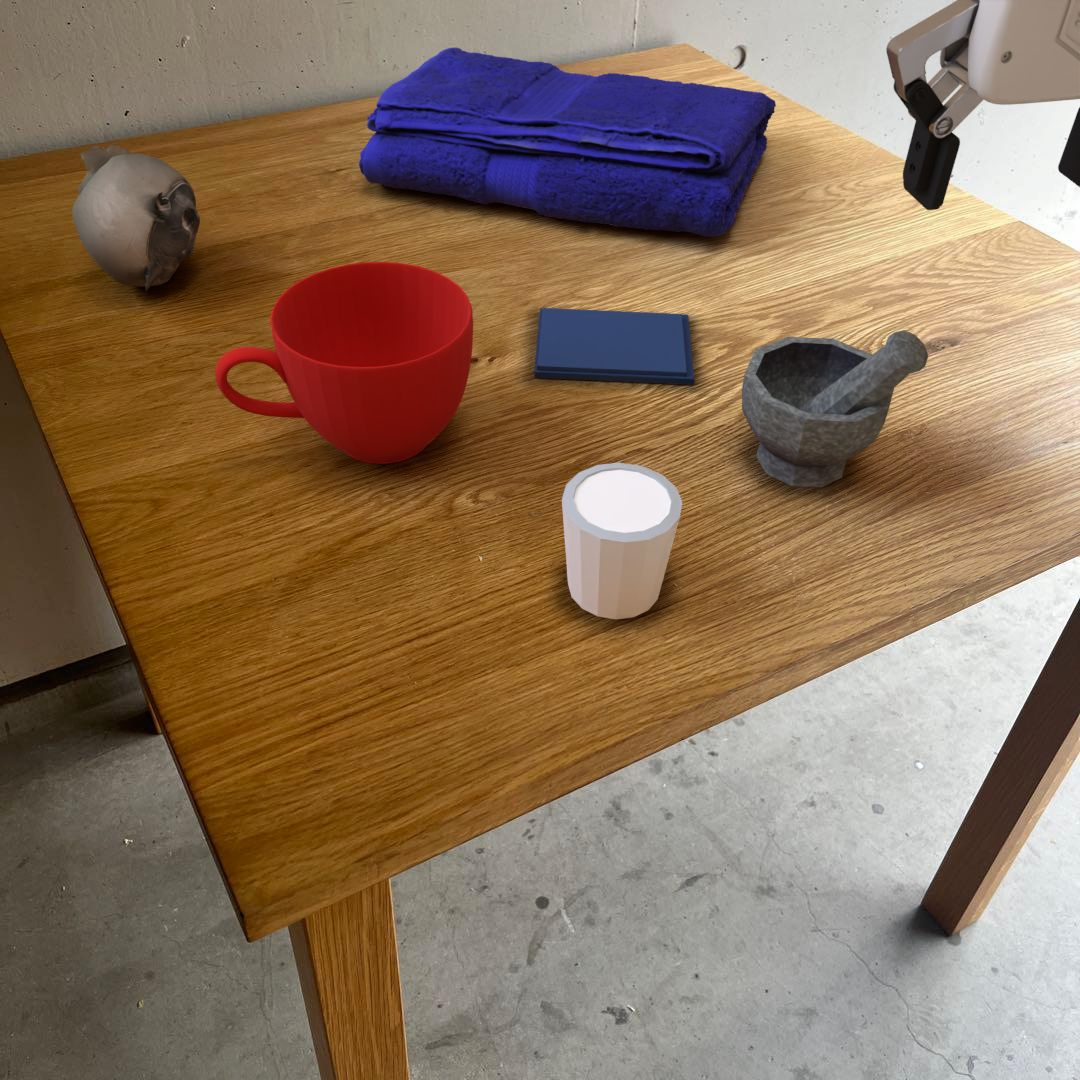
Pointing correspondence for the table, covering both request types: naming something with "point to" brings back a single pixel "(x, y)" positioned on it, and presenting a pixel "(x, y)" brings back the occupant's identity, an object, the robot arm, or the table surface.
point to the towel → (570, 142)
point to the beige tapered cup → (618, 537)
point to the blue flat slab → (614, 346)
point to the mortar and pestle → (822, 402)
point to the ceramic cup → (367, 357)
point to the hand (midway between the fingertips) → (1000, 190)
